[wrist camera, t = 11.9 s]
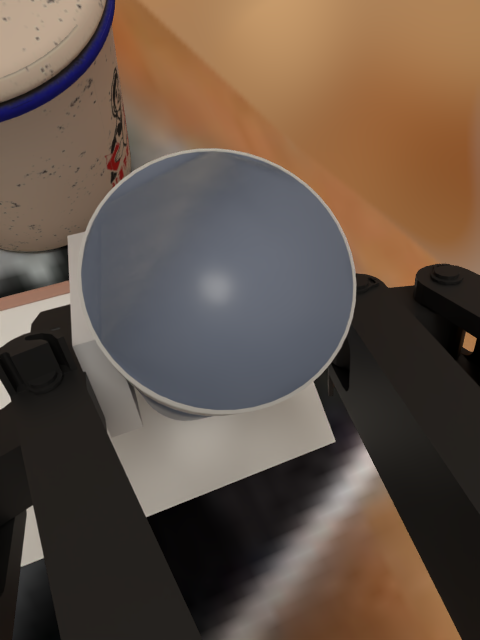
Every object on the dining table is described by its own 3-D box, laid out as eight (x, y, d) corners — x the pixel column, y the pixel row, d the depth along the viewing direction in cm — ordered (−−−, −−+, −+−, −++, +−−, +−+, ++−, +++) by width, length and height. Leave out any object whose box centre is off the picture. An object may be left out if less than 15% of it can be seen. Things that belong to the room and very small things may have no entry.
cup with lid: (153, 437, 17) (125, 459, 5) (124, 341, 17) (44, 178, 6) (248, 402, 18) (397, 359, 6) (217, 313, 18) (300, 127, 7)
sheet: (-206, 655, 14) (-216, 662, 13) (-246, 365, 15) (-256, 364, 15) (333, 441, 18) (336, 441, 18) (256, 235, 20) (258, 231, 20)
